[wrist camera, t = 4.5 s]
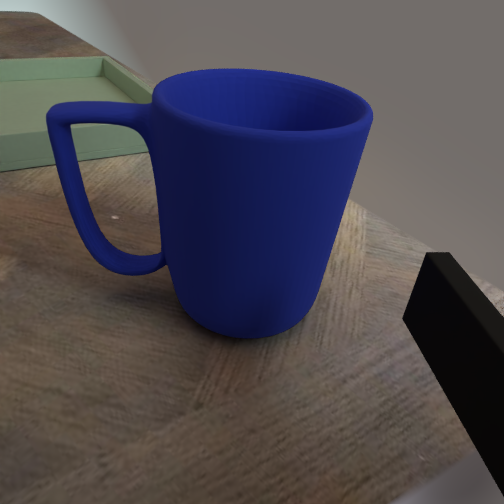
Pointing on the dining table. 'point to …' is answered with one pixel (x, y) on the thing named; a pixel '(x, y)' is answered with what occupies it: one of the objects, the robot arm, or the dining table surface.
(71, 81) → the tray
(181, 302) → the mug
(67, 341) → the dining table surface
